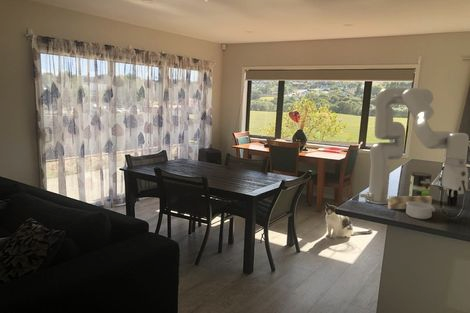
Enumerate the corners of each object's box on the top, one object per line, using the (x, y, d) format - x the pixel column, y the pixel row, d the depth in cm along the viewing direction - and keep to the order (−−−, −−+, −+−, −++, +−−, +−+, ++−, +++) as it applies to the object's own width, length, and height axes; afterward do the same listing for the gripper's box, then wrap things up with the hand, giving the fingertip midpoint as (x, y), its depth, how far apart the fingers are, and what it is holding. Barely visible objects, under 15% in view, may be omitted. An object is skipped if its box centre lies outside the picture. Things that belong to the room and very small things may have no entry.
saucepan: (454, 225, 160) (456, 212, 160) (404, 217, 169) (405, 205, 169) (452, 218, 171) (454, 206, 170) (405, 211, 180) (406, 200, 179)
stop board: (389, 209, 182) (390, 197, 182) (387, 207, 184) (388, 196, 184) (430, 208, 185) (432, 197, 184) (428, 207, 187) (429, 196, 186)
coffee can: (433, 200, 201) (436, 175, 199) (417, 201, 198) (420, 176, 196) (419, 196, 211) (422, 171, 209) (404, 196, 208) (406, 172, 206)
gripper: (477, 165, 146) (473, 210, 148) (451, 160, 161) (447, 201, 163) (460, 165, 145) (456, 210, 148) (435, 160, 160) (431, 201, 162)
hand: (451, 205), depth 155 cm, fingers closed
